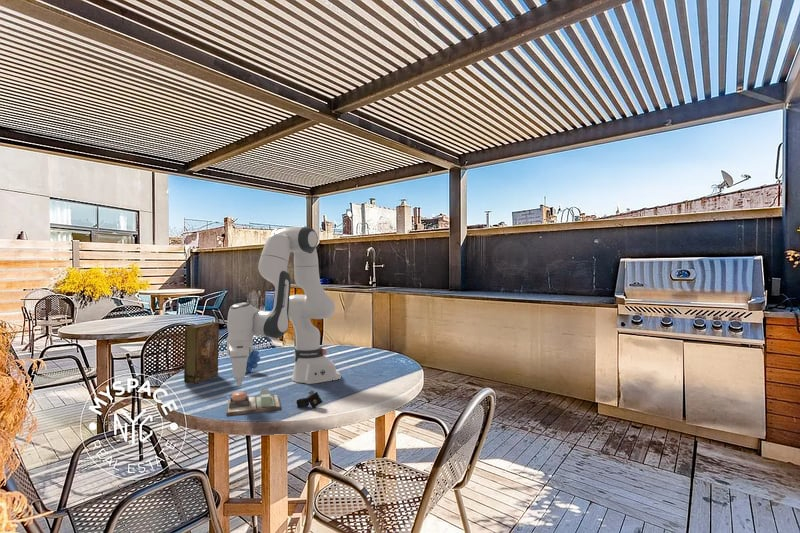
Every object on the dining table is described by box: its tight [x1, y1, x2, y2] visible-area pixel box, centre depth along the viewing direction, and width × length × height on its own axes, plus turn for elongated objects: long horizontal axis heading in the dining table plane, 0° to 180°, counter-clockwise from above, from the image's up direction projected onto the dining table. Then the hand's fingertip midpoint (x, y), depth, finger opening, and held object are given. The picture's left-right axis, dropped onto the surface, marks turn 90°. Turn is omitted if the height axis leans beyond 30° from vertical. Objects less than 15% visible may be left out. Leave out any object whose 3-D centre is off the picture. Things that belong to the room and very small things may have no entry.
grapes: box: [246, 348, 261, 373], centre depth 190 cm, size 12×7×12 cm, turn 87°
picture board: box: [226, 393, 282, 416], centre depth 143 cm, size 18×14×3 cm
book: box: [183, 321, 220, 385], centre depth 176 cm, size 16×6×25 cm, turn 168°
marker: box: [259, 388, 271, 406], centre depth 145 cm, size 3×10×3 cm, turn 22°
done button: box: [231, 391, 248, 402], centre depth 142 cm, size 5×5×2 cm
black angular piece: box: [295, 390, 324, 409], centre depth 142 cm, size 9×2×6 cm
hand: (239, 384), depth 141 cm, fingers closed
